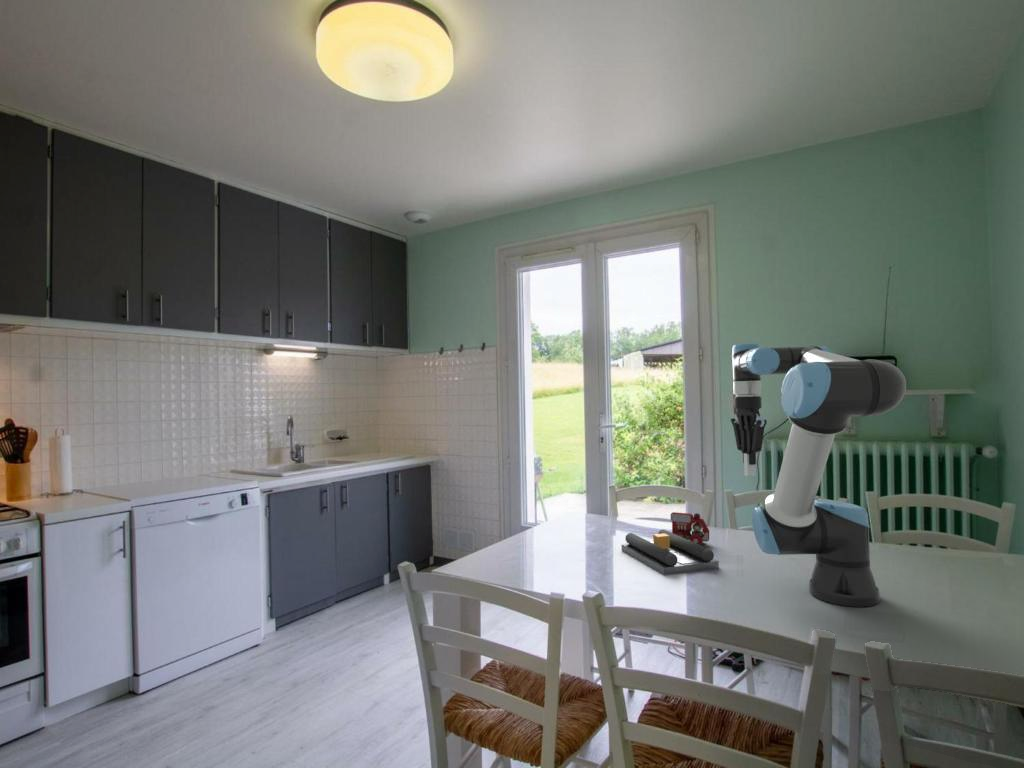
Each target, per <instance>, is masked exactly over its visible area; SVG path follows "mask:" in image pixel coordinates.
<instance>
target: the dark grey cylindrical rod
mask: <svg viewBox="0 0 1024 768" xmlns="http://www.w3.org/2000/svg"><path fill="white" fill-rule="evenodd" d="M664 533H665V534H667V535H669V537H670V544H671V545H673V546H675V547H677V548H679V549H681V550H683V551H685V552H687V553H690V554H692V555H694V556H696V557H698V558H700V559H702V560H704V561H711V560H712V559H715V558H714V556H715V554H714V552H713V550H712V549H709V548H708V547H705V546H703V545H699V544H696V543H694V542H692V541H690V540H687V539H685V538H683V537H680V536H678V535H676V534H673V533H672V531H669V530H667V529H659V531H658V532H657V534H664Z"/></svg>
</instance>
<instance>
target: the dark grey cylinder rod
mask: <svg viewBox="0 0 1024 768" xmlns="http://www.w3.org/2000/svg"><path fill="white" fill-rule="evenodd" d="M649 541H650V540H647V539H644V537H641V536H639V535H637V534H635V533H633V532H630V533H627V534H626V535H625V542H626V544H630V545H632V546H634V547H636V548H637V549H639V550H641V551H643V552H645V553H647V554H649V555H650V556H652V557H654V558H656V559H658V560H660V561H661V562H663V563H665V564H667V565H669V566H674V565H676V564H677V561H678V559H677V556H676V555H675V554H673V553H671V552H669V551H667V550H665V549H663V548H661V547H659V546H657V545H655V544H653V543H651V542H649Z"/></svg>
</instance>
